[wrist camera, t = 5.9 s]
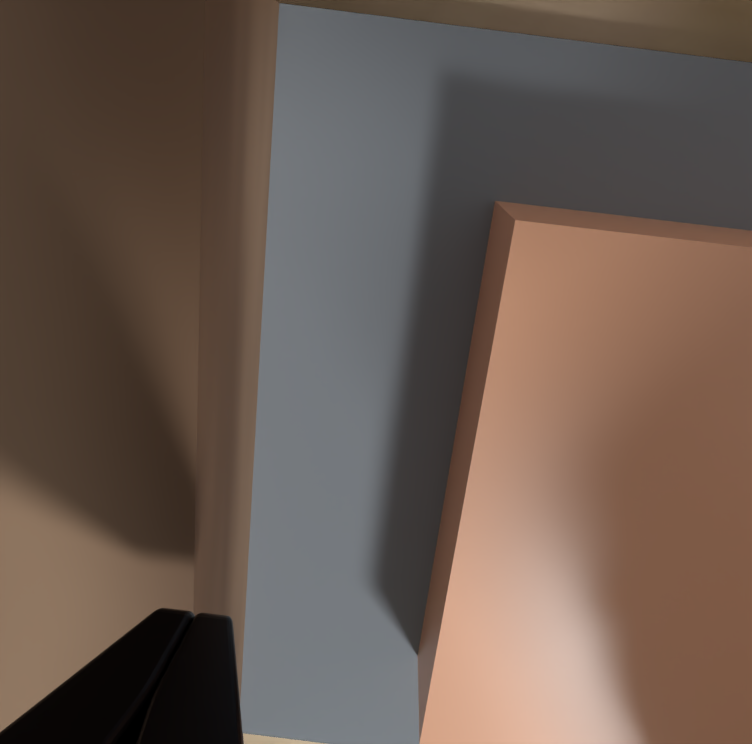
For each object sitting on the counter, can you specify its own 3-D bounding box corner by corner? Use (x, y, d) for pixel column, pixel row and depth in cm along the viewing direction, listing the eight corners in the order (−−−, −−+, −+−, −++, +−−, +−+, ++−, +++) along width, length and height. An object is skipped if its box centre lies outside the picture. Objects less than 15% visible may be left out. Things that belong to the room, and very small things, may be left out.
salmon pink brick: (515, 220, 8) (494, 200, 10) (419, 744, 11) (417, 656, 13) (996, 276, 8) (887, 246, 10) (763, 784, 11) (713, 690, 13)
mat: (899, 84, 10) (919, 83, 9) (644, 766, 15) (650, 783, 14) (284, 7, 10) (279, 3, 9) (243, 716, 15) (238, 733, 14)
